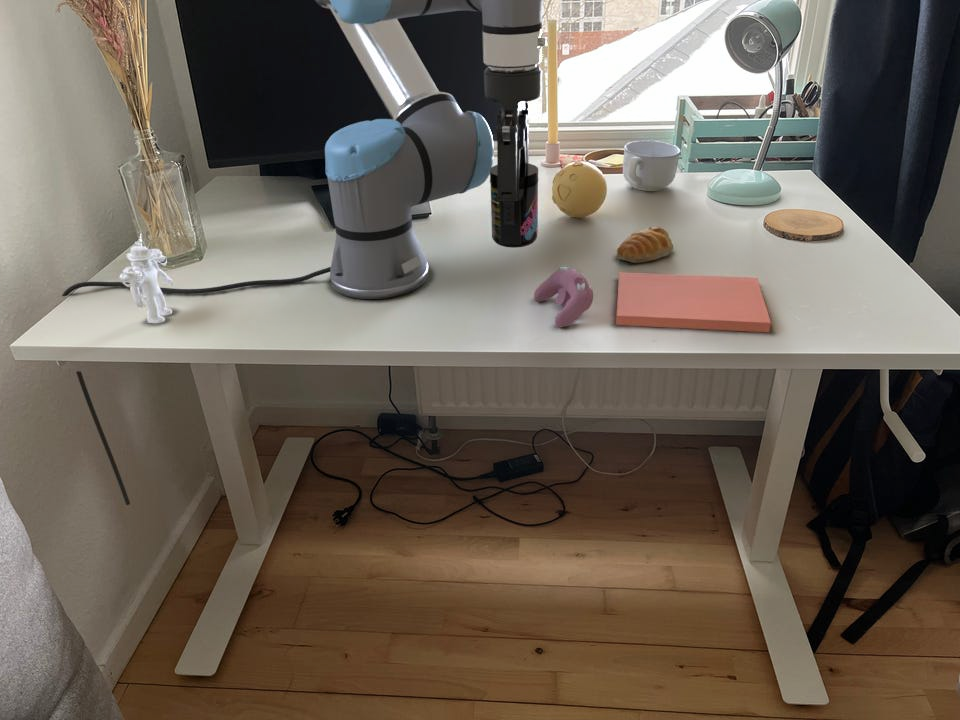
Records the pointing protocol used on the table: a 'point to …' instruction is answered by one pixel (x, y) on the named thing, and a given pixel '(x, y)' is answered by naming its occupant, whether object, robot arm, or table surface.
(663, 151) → the teacup
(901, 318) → the table surface
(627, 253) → the pastry
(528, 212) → the supplement container
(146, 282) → the hat wearing toy figure
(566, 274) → the video game controller
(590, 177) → the stress ball
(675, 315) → the foam mat
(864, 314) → the table surface
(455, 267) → the table surface
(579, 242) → the table surface
